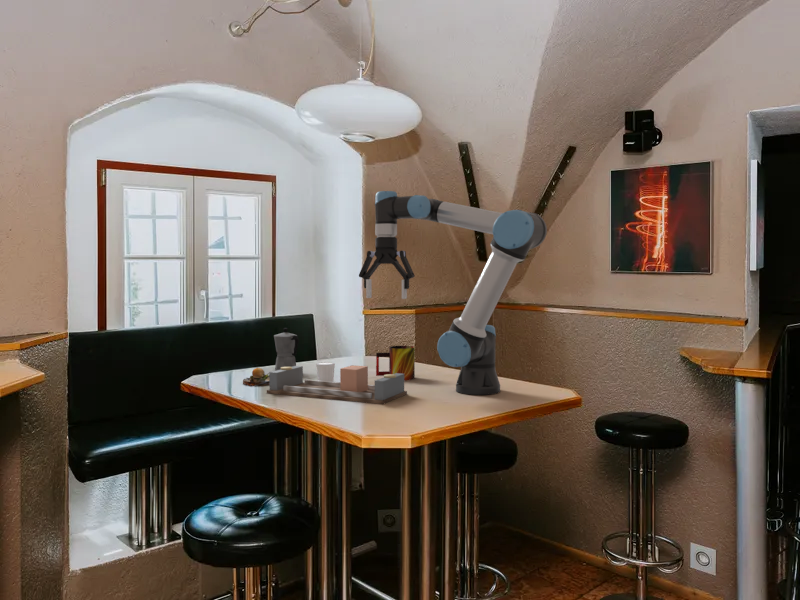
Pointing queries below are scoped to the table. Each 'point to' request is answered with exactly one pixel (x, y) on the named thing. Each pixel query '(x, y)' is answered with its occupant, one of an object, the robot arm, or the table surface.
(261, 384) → the burger
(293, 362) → the coffeepot
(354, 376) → the salmon pink box
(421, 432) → the table surface
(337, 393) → the rail track
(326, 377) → the white cup
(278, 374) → the knobbed grey end panels
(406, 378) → the mug
